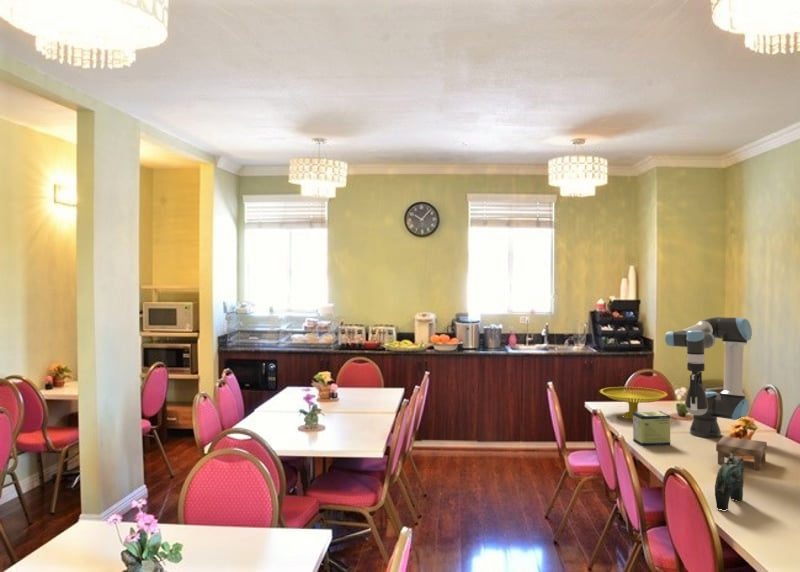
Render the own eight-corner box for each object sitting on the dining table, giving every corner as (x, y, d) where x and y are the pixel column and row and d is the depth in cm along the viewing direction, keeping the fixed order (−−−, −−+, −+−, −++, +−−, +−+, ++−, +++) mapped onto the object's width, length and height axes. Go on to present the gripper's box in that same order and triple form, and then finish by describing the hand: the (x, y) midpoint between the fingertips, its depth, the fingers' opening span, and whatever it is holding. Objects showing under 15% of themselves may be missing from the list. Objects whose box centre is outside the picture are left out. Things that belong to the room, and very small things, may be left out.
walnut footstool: (716, 464, 273) (716, 444, 273) (723, 454, 287) (723, 436, 287) (761, 471, 262) (761, 451, 262) (766, 461, 276) (766, 441, 276)
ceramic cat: (731, 496, 233) (731, 445, 233) (749, 500, 228) (749, 448, 228) (711, 509, 220) (710, 455, 220) (730, 514, 215) (729, 459, 215)
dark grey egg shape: (706, 412, 290) (706, 381, 289) (710, 417, 280) (709, 385, 280) (683, 411, 293) (683, 380, 293) (686, 415, 283) (685, 384, 283)
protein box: (671, 445, 305) (670, 415, 305) (641, 446, 304) (641, 416, 304) (661, 439, 315) (660, 410, 315) (632, 440, 315) (632, 411, 314)
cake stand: (585, 413, 381) (585, 389, 380) (633, 406, 396) (633, 384, 396) (633, 427, 343) (632, 401, 343) (683, 419, 359) (683, 394, 359)
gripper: (692, 359, 297) (693, 403, 297) (681, 364, 279) (682, 411, 280) (709, 360, 293) (709, 404, 293) (699, 366, 275) (699, 413, 275)
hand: (696, 408), depth 286 cm, fingers closed on dark grey egg shape, 10 cm apart
